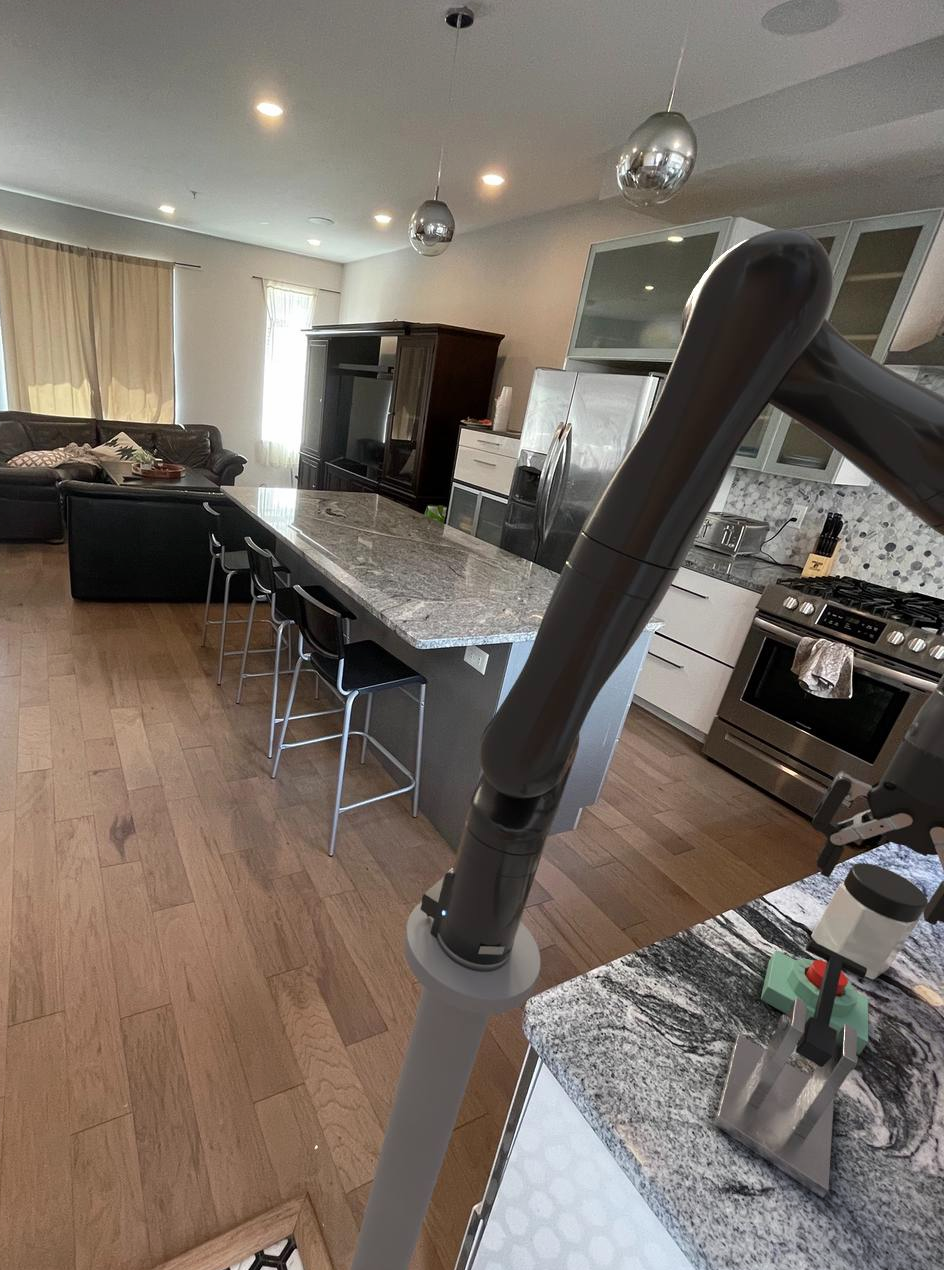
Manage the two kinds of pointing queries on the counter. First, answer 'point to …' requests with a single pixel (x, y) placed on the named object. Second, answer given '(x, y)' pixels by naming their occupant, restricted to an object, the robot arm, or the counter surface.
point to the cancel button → (817, 974)
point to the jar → (870, 917)
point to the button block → (813, 996)
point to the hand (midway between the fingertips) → (874, 894)
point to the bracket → (786, 1100)
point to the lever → (825, 1006)
